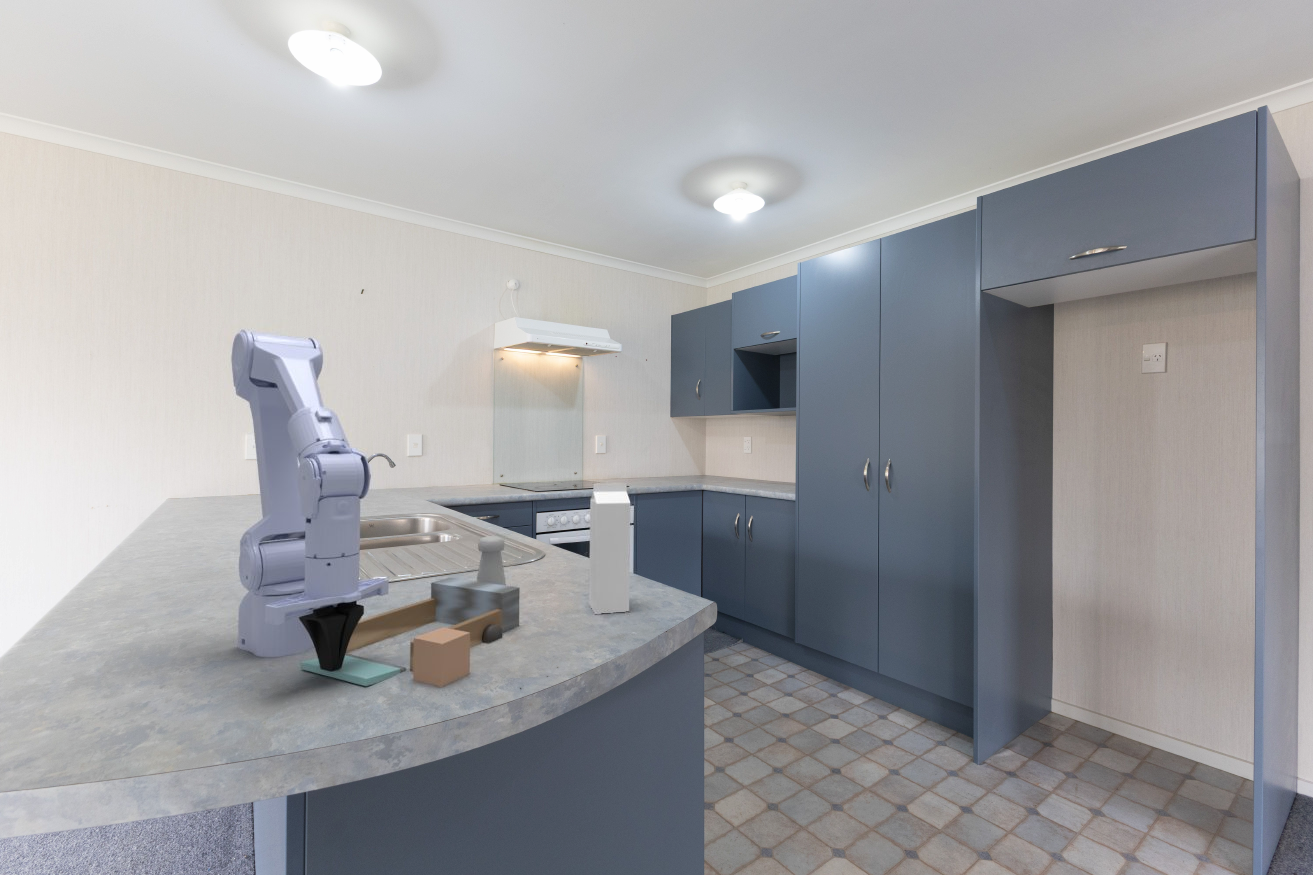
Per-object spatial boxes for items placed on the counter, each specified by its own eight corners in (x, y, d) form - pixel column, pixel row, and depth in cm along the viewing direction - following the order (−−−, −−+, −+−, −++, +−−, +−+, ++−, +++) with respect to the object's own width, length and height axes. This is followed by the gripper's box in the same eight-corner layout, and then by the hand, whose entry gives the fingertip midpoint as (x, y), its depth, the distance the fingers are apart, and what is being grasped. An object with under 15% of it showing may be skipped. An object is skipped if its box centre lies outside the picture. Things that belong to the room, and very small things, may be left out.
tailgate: (342, 659, 78) (300, 669, 72) (343, 651, 78) (301, 661, 72) (405, 674, 73) (365, 686, 68) (406, 666, 73) (366, 677, 68)
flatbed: (331, 658, 79) (332, 607, 79) (443, 618, 97) (444, 576, 97) (423, 680, 72) (423, 624, 72) (525, 633, 90) (525, 588, 90)
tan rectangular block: (413, 688, 70) (413, 637, 70) (441, 675, 74) (442, 627, 74) (441, 696, 68) (442, 643, 68) (469, 681, 72) (470, 632, 72)
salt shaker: (498, 620, 96) (499, 540, 96) (465, 618, 97) (466, 538, 97) (513, 610, 102) (514, 534, 102) (483, 608, 103) (484, 533, 103)
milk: (629, 612, 102) (631, 484, 102) (594, 615, 100) (596, 484, 100) (621, 603, 108) (623, 481, 108) (588, 605, 106) (590, 481, 106)
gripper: (295, 569, 62) (293, 698, 62) (406, 547, 75) (404, 654, 75) (253, 562, 65) (251, 686, 65) (367, 542, 78) (365, 645, 78)
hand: (331, 668), depth 70 cm, fingers closed
